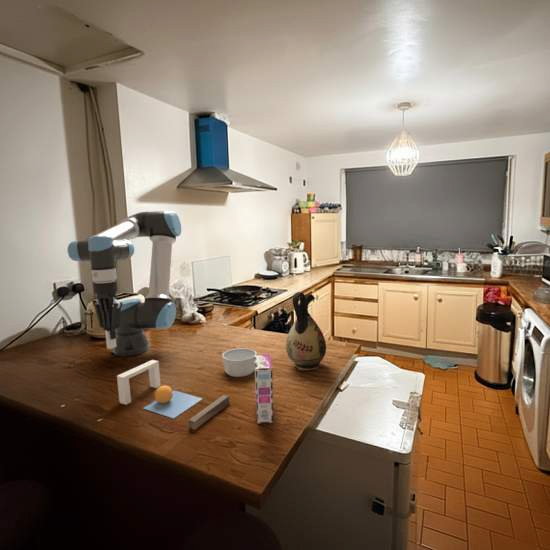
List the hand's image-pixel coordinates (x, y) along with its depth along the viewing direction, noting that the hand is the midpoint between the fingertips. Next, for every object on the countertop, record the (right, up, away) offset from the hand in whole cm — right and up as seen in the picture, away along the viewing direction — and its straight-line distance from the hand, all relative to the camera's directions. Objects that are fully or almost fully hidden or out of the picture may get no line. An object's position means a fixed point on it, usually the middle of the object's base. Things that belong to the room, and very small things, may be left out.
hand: (111, 347), depth 124 cm
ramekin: (+44, -12, +12) cm, 47 cm away
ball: (+22, -13, -11) cm, 27 cm away
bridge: (+12, -15, -4) cm, 19 cm away
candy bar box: (+54, -16, -18) cm, 59 cm away
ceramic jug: (+69, -11, +14) cm, 71 cm away
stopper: (+38, -16, -19) cm, 45 cm away
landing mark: (+25, -16, -11) cm, 31 cm away
